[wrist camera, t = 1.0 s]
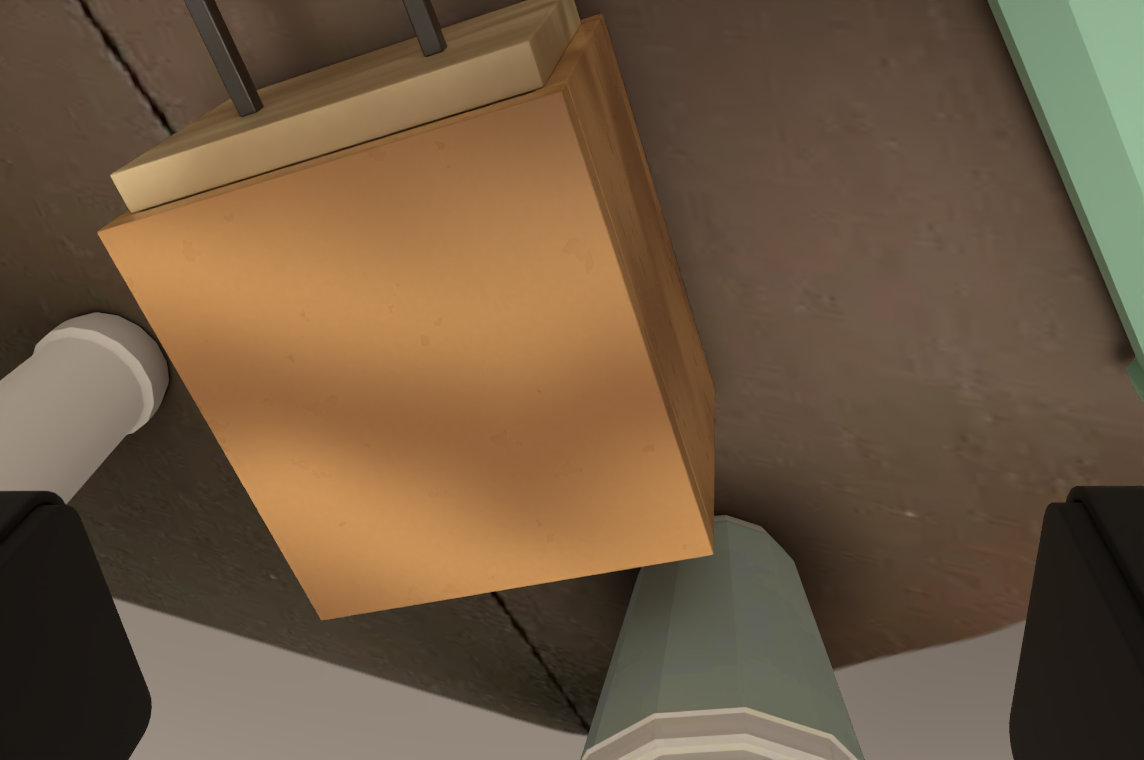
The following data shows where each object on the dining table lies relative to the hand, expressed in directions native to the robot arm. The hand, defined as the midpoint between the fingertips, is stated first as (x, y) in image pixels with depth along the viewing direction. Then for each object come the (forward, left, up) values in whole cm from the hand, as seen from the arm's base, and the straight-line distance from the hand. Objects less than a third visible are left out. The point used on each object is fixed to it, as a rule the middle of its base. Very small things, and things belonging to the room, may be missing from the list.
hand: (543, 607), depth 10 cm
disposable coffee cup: (+22, -4, -27) cm, 35 cm away
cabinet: (+6, -9, -27) cm, 29 cm away
